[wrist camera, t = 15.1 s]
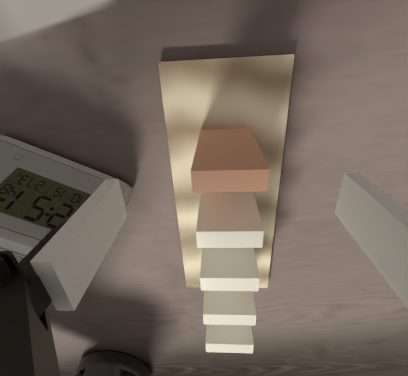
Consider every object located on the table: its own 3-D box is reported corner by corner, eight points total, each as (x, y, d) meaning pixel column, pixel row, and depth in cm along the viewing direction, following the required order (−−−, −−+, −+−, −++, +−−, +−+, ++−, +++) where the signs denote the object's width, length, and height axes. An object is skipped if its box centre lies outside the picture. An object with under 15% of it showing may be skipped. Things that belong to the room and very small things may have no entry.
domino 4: (245, 251, 32) (255, 325, 23) (207, 251, 32) (203, 324, 23) (245, 242, 31) (256, 315, 22) (207, 242, 31) (202, 314, 22)
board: (266, 282, 36) (267, 287, 35) (187, 281, 37) (186, 286, 36) (291, 54, 21) (294, 54, 20) (160, 61, 22) (157, 61, 21)
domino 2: (247, 185, 27) (262, 247, 18) (204, 186, 27) (197, 247, 18) (248, 172, 26) (263, 231, 17) (203, 173, 26) (195, 231, 18)
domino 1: (249, 143, 24) (267, 191, 16) (201, 144, 25) (192, 192, 16) (250, 127, 24) (269, 169, 15) (200, 129, 24) (190, 171, 15)
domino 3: (246, 221, 29) (258, 291, 20) (205, 221, 30) (200, 290, 21) (246, 210, 28) (259, 278, 20) (205, 210, 29) (199, 277, 20)
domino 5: (243, 277, 34) (252, 353, 25) (209, 276, 34) (206, 351, 26) (244, 269, 33) (253, 344, 25) (208, 269, 34) (205, 343, 25)
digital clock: (142, 186, 29) (106, 248, 20) (112, 232, 33) (70, 302, 23) (7, 106, 25) (-118, 135, 16) (-10, 169, 29) (-118, 222, 20)
